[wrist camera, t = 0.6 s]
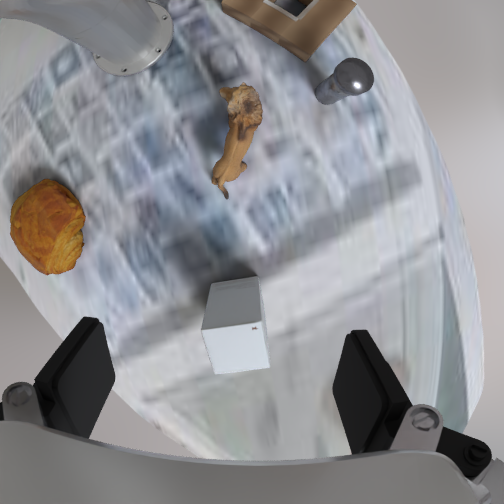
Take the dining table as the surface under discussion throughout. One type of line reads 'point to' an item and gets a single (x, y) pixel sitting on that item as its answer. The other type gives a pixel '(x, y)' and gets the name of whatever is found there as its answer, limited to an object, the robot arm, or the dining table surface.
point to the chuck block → (291, 21)
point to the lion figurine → (237, 132)
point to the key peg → (345, 81)
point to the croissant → (48, 227)
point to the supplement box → (236, 326)
